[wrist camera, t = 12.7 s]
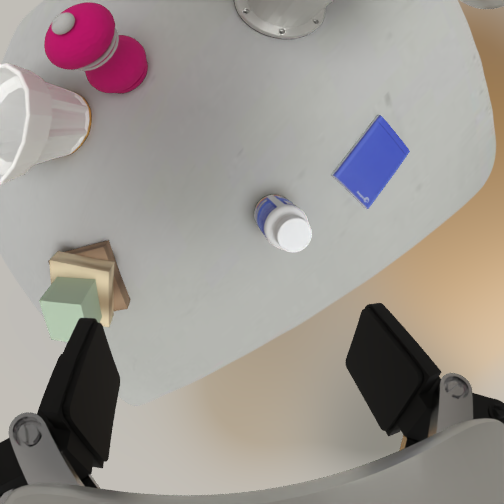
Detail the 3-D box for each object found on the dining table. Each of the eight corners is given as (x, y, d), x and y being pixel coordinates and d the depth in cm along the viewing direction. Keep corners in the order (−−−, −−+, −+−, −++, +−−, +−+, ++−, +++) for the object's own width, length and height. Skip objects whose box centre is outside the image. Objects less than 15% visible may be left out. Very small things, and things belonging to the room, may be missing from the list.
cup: (32, 168, 30) (-48, 197, 14) (34, 92, 26) (-45, 82, 10) (98, 161, 32) (29, 186, 16) (102, 79, 28) (38, 47, 12)
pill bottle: (259, 236, 40) (276, 266, 32) (248, 200, 38) (264, 221, 29) (295, 224, 41) (321, 250, 32) (286, 188, 38) (313, 206, 30)
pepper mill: (154, 88, 30) (108, 42, 12) (102, 103, 29) (17, 84, 11) (148, 40, 27) (107, -35, 9) (97, 56, 26) (20, 6, 8)
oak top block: (58, 251, 33) (49, 259, 30) (114, 261, 35) (108, 271, 33) (61, 304, 36) (54, 314, 33) (113, 315, 38) (109, 327, 36)
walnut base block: (56, 253, 36) (48, 261, 33) (109, 238, 37) (103, 246, 34) (79, 307, 40) (73, 317, 37) (131, 297, 41) (127, 308, 38)
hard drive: (368, 210, 41) (410, 151, 38) (334, 176, 38) (381, 114, 35) (363, 207, 42) (404, 150, 40) (329, 174, 39) (375, 114, 36)
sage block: (57, 276, 31) (39, 300, 26) (95, 279, 33) (80, 304, 27) (65, 313, 34) (51, 339, 28) (102, 317, 35) (91, 344, 30)
